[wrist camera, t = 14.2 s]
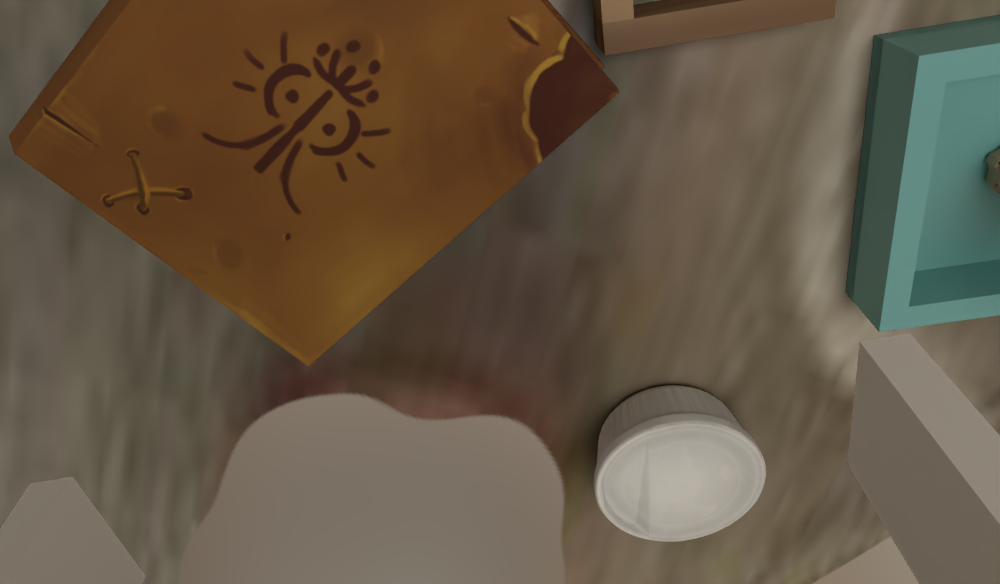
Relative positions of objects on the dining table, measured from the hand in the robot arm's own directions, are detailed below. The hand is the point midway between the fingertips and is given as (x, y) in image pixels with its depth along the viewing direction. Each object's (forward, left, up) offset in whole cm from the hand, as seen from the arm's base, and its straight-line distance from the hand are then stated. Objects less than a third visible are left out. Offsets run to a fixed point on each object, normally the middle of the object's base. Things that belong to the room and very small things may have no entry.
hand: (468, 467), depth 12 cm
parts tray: (+10, +29, -30) cm, 43 cm away
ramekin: (+28, +9, -30) cm, 42 cm away
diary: (+1, -8, -31) cm, 32 cm away
